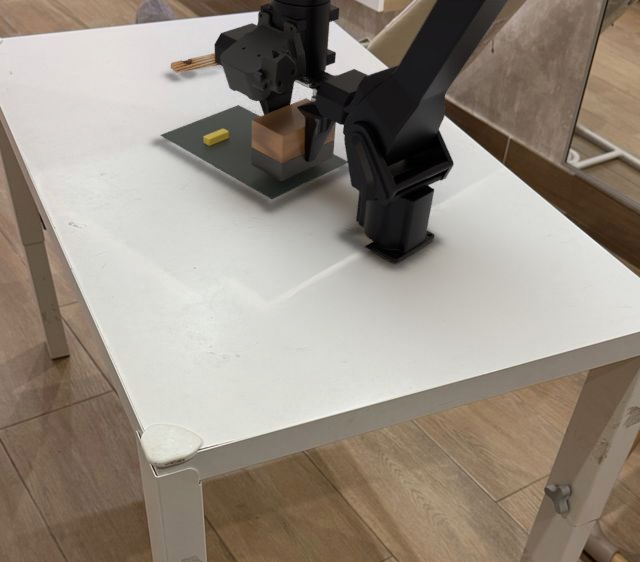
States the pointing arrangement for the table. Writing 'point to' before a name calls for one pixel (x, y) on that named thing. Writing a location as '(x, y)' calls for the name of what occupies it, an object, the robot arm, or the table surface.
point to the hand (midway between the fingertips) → (293, 152)
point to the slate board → (240, 151)
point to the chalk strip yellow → (216, 137)
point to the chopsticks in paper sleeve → (194, 63)
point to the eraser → (285, 143)
